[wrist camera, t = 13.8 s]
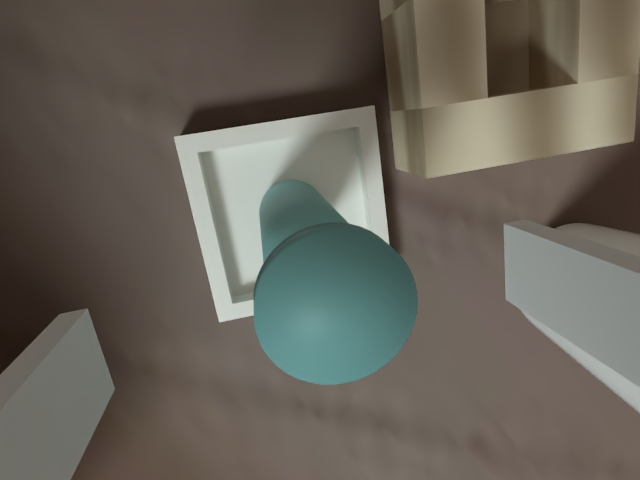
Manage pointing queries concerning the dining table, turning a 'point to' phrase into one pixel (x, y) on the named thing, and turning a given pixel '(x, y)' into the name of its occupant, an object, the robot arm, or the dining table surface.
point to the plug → (327, 290)
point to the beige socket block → (507, 79)
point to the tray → (263, 173)
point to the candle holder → (613, 380)
